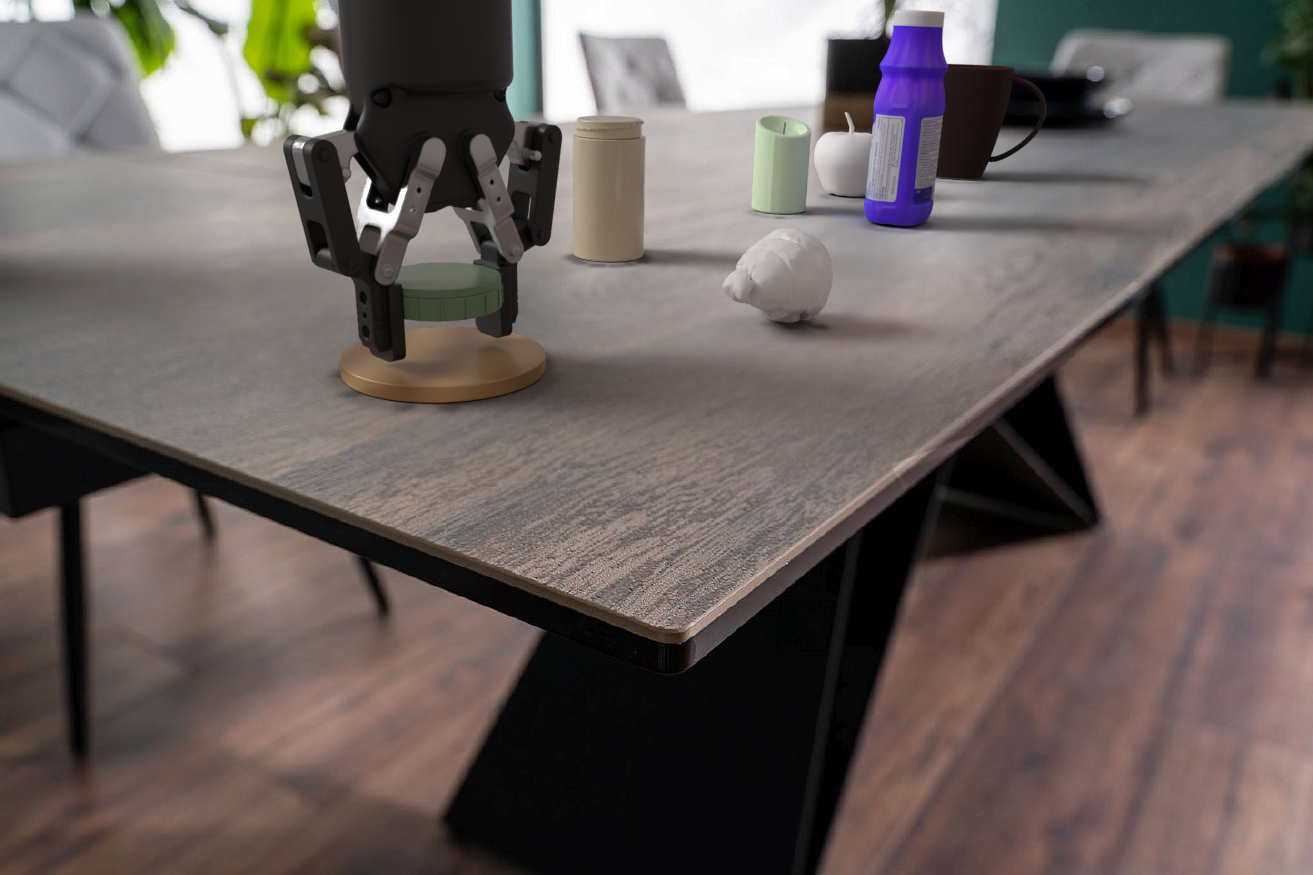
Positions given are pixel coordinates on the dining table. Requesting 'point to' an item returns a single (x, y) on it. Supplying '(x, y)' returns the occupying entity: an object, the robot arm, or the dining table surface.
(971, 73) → the cup
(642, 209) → the jar
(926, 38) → the bottle
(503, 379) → the coaster
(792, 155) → the candle
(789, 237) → the garlic bulb
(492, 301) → the lid
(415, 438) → the dining table surface
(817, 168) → the plain white apple
